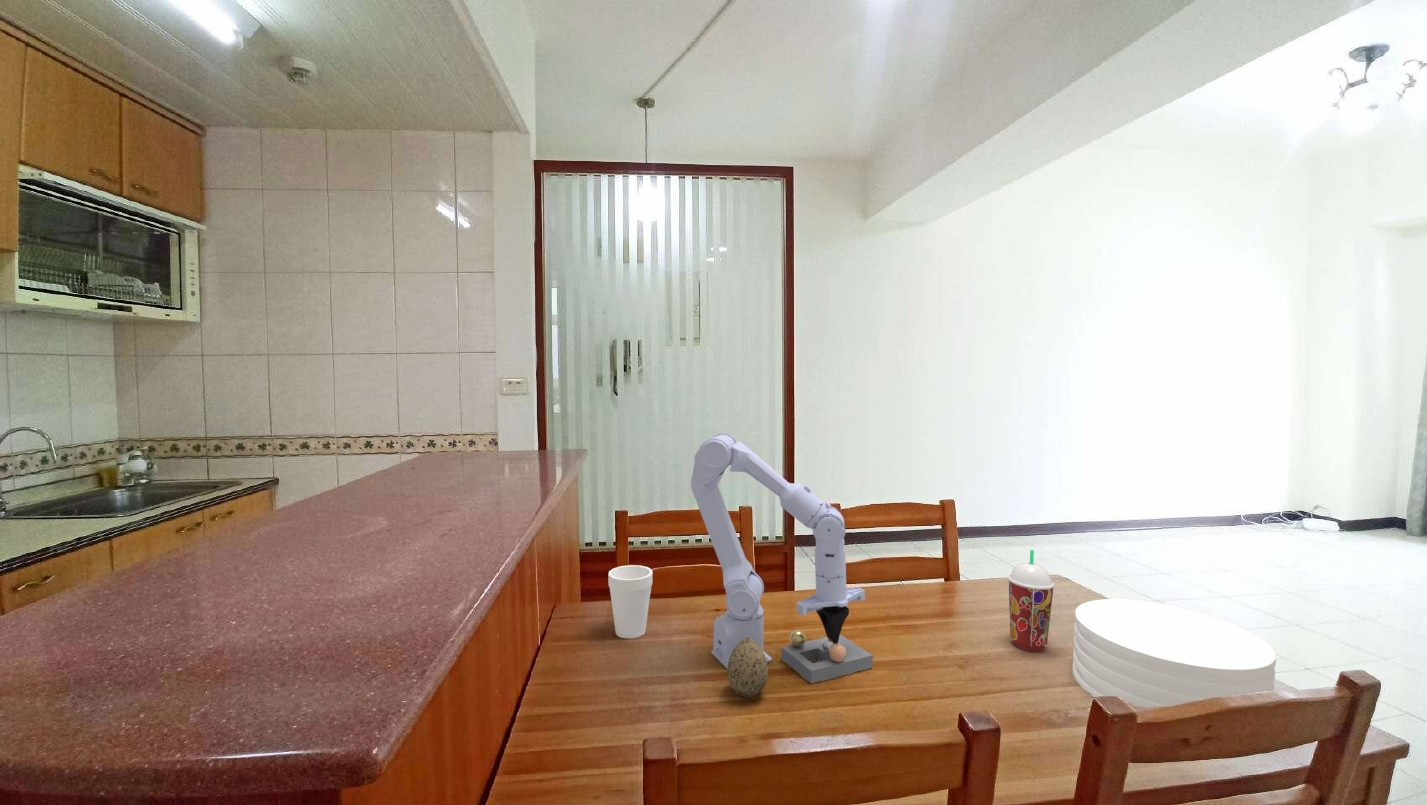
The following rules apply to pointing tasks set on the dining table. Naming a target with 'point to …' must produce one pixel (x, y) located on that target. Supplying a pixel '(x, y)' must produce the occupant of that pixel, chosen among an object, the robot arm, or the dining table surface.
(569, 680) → the dining table surface
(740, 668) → the decorative egg
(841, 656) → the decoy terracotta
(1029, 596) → the smoothie
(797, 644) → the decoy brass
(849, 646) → the grey tray with hole
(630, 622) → the foam cup
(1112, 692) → the plate stack
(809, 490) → the robot arm
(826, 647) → the steel ball
